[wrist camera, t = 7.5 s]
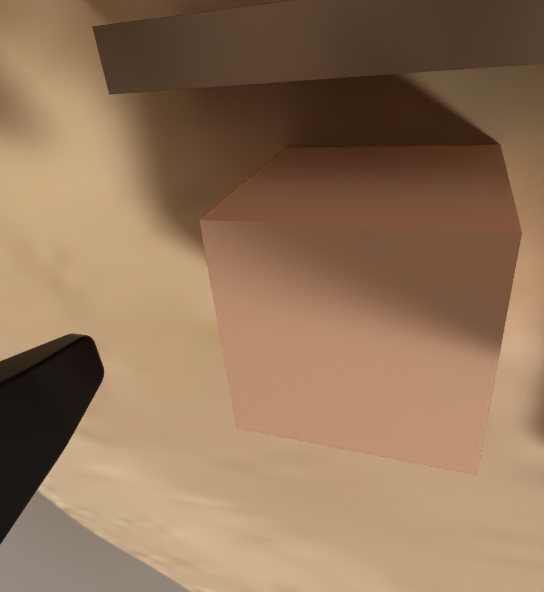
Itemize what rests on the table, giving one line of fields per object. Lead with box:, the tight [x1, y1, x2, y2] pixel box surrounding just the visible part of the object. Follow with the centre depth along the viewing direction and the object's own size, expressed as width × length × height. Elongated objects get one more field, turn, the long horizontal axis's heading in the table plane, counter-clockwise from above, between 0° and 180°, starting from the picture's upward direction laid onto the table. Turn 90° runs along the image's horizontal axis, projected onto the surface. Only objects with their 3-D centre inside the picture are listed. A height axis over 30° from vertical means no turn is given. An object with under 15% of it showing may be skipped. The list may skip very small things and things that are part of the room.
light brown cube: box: [199, 145, 522, 475], centre depth 11 cm, size 5×5×5 cm
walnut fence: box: [93, 0, 544, 94], centre depth 11 cm, size 14×13×3 cm
